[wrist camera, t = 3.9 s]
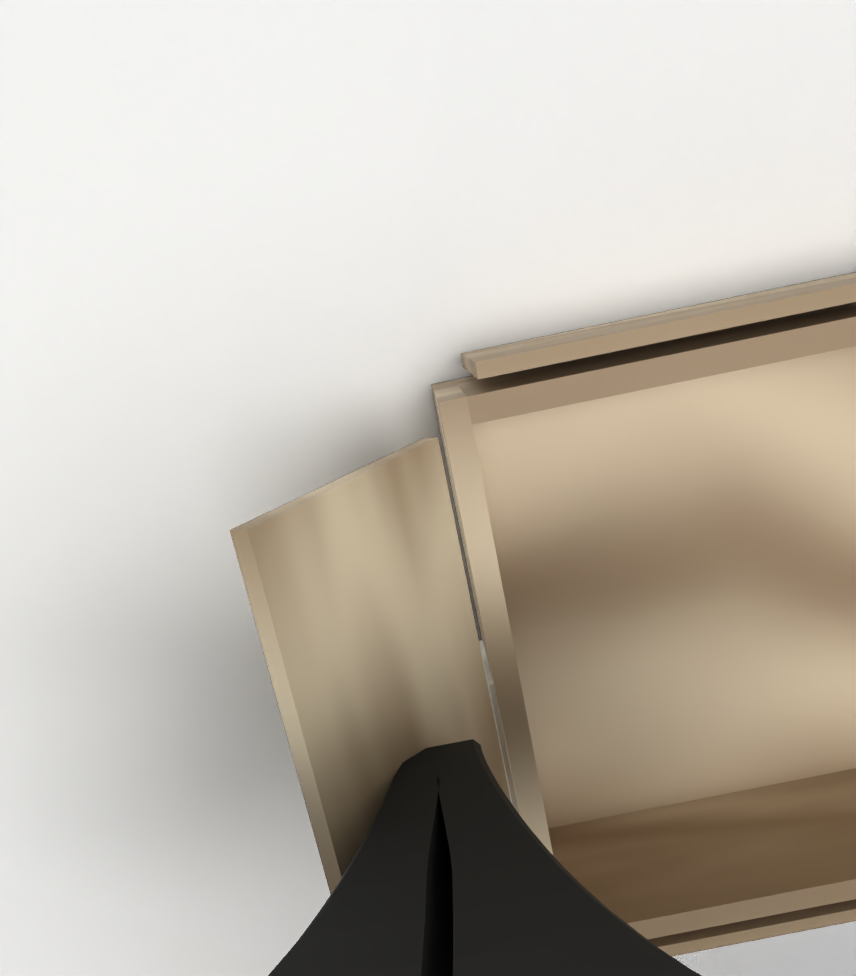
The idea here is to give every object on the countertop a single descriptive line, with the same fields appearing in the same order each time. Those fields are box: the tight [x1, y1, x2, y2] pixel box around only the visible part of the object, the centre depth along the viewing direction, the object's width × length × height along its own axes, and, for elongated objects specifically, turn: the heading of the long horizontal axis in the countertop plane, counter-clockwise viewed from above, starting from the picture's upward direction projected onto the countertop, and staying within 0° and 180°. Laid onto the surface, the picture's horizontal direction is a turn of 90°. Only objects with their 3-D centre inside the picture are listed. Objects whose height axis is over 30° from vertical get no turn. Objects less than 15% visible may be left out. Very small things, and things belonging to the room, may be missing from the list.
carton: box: [431, 272, 856, 956], centre depth 16 cm, size 13×15×4 cm
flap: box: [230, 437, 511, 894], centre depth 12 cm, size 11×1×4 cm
